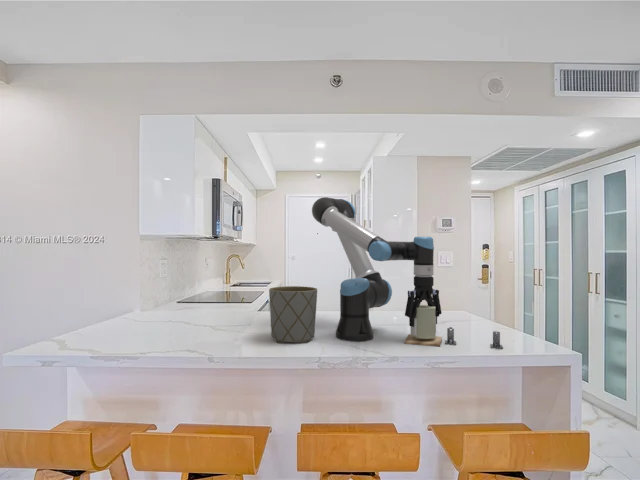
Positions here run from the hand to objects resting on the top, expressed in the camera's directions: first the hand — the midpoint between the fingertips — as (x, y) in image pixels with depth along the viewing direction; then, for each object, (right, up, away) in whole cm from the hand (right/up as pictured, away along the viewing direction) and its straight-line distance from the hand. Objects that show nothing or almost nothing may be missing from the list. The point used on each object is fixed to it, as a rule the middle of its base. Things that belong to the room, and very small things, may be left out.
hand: (423, 333), depth 151 cm
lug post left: (+9, -3, -4) cm, 10 cm away
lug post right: (+25, -3, -9) cm, 26 cm away
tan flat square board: (0, -3, 0) cm, 3 cm away
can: (0, -1, 0) cm, 1 cm away
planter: (-51, -3, +2) cm, 51 cm away
